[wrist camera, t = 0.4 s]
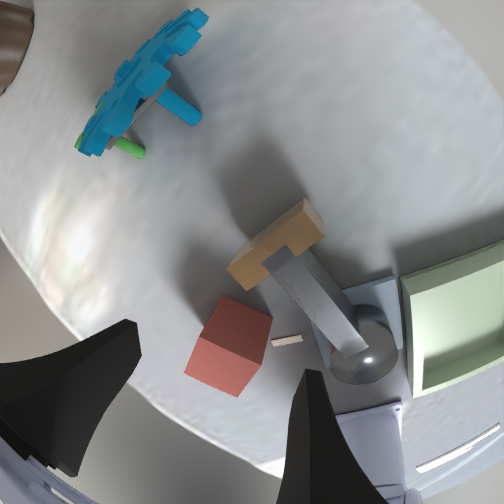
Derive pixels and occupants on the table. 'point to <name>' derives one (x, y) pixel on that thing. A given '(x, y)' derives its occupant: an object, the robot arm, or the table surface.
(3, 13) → the plant pot
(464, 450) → the butcher knife
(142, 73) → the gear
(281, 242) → the crank
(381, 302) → the crank base
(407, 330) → the tray
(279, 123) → the table surface
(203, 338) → the block
